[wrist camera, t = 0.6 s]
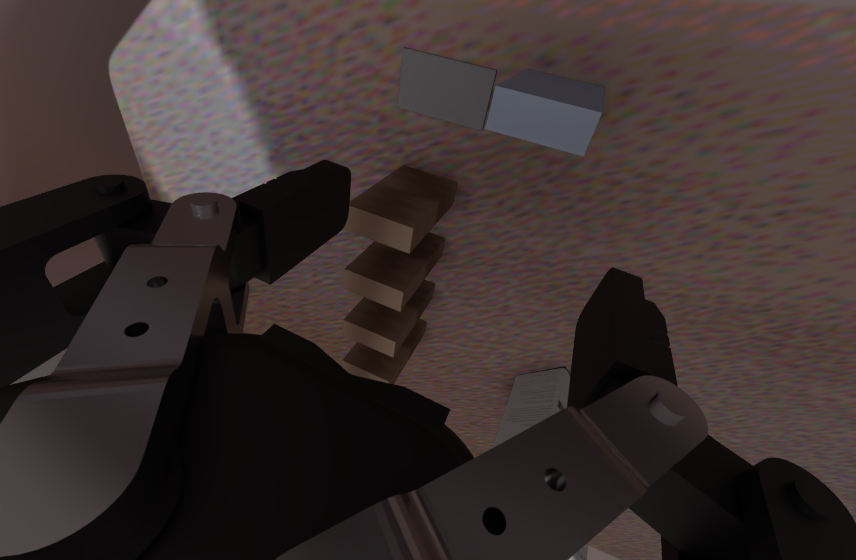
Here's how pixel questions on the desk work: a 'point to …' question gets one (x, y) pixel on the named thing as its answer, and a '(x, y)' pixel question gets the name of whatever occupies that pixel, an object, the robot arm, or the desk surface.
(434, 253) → the tile
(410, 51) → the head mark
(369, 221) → the tile
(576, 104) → the blue-grey rectangular block
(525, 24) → the desk surface
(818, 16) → the desk surface
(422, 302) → the tile
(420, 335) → the tile
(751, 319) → the desk surface
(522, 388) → the skincare box
